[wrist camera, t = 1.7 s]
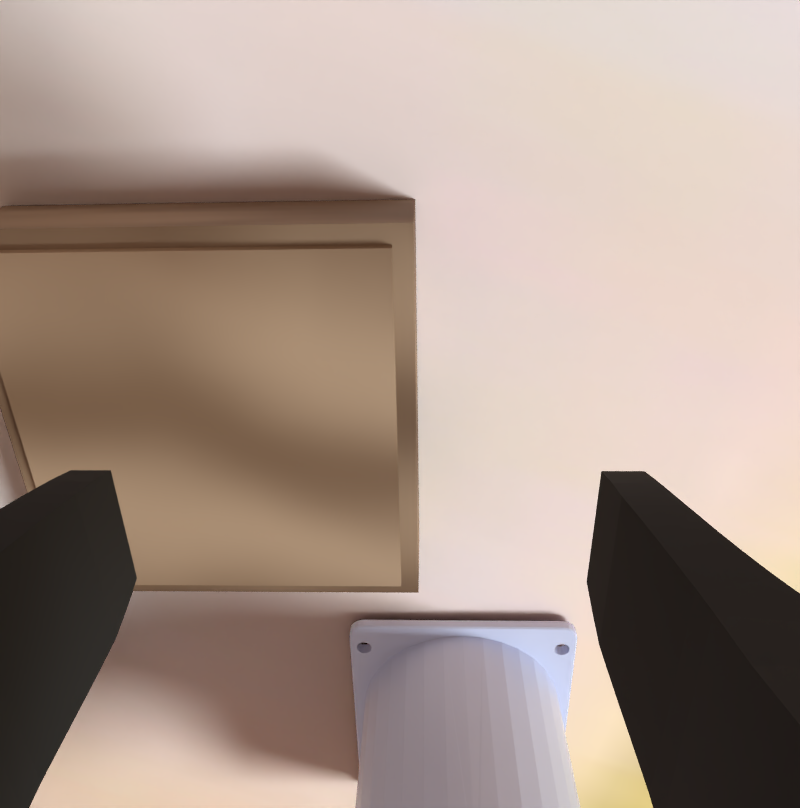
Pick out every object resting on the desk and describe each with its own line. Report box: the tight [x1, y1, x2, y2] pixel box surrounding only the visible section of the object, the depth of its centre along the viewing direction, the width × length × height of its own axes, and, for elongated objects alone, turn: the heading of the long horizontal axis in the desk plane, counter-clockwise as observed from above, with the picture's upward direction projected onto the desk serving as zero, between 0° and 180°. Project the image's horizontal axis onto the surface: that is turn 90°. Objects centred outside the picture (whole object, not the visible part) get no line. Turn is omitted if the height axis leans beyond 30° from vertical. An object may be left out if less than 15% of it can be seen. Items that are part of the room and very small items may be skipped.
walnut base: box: [0, 199, 419, 592], centre depth 20 cm, size 11×11×3 cm
